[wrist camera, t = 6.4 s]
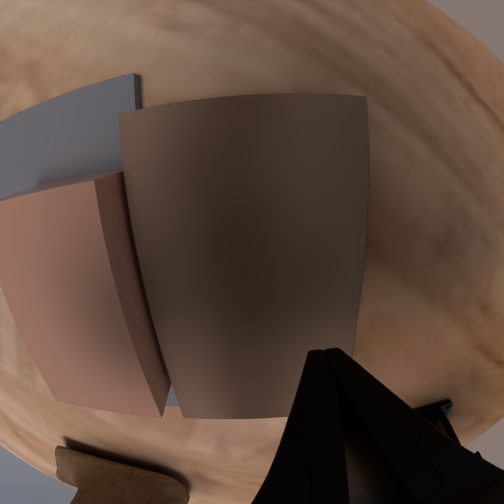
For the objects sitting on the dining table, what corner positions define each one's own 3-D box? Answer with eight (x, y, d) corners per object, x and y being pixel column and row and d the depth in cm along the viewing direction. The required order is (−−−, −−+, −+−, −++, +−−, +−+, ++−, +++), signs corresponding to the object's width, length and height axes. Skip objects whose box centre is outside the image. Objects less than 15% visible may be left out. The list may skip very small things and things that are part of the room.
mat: (138, 75, 10) (133, 73, 10) (193, 400, 17) (192, 406, 16) (-17, 133, 11) (-23, 134, 10) (59, 384, 17) (56, 389, 17)
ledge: (340, 105, 11) (366, 96, 8) (329, 372, 16) (340, 410, 13) (147, 117, 11) (118, 114, 8) (192, 378, 16) (183, 417, 13)
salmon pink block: (93, 180, 8) (-21, 207, 8) (161, 417, 11) (57, 400, 11) (141, 165, 11) (35, 185, 11) (177, 360, 15) (85, 354, 15)
